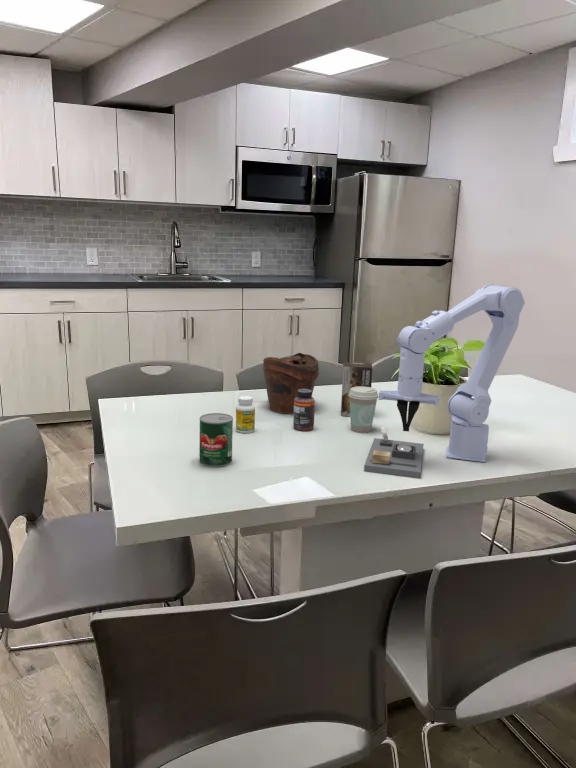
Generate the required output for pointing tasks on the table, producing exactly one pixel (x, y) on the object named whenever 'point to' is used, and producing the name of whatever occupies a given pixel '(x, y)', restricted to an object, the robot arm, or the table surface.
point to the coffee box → (354, 381)
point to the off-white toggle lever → (384, 433)
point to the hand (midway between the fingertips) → (406, 430)
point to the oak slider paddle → (381, 457)
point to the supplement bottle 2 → (304, 410)
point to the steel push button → (404, 448)
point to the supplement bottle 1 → (245, 415)
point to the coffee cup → (362, 408)
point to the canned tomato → (215, 439)
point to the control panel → (396, 458)
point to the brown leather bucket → (288, 379)
